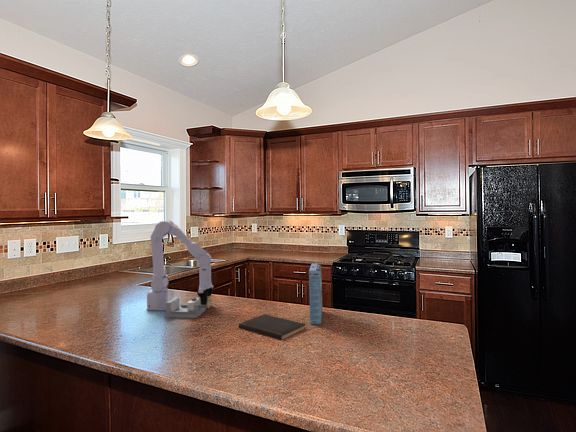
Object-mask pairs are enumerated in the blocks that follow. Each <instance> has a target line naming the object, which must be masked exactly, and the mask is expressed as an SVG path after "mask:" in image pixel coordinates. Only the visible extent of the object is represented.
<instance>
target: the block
mask: <svg viewBox="0 0 576 432" xmlns="http://www.w3.org/2000/svg"><path fill="white" fill-rule="evenodd" d="M211 306H212V295H211V296H208V297H207V304H206V309H209V308H211ZM208 307H209V308H208Z"/></svg>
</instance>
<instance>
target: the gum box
mask: <svg viewBox="0 0 576 432" xmlns="http://www.w3.org/2000/svg"><path fill="white" fill-rule="evenodd" d="M322 277H323V276H322V263H311V265H310V268H309V270H308V285H309V287H308V288H309V291H308V292H309V324H310V325H321V324H322V318H323V317H322V316H323V287H322V286H323V283H322V281H323V280H322Z"/></svg>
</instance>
